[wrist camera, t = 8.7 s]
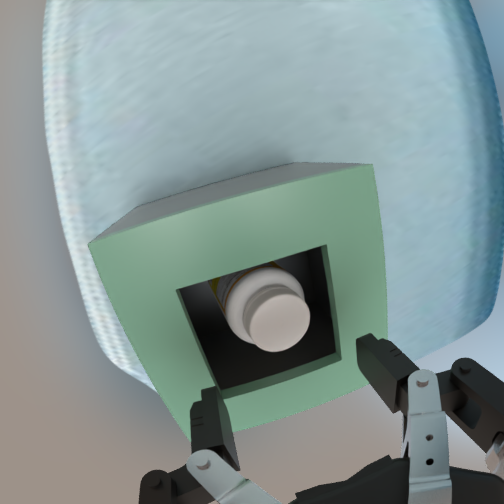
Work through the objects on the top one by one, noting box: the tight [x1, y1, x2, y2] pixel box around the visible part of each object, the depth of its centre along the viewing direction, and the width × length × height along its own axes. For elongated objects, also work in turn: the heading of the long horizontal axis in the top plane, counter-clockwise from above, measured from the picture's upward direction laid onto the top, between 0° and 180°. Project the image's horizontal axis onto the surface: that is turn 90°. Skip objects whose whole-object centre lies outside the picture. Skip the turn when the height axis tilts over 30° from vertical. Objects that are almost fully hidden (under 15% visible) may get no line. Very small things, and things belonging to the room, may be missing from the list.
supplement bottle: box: [208, 261, 310, 352], centre depth 22 cm, size 6×6×10 cm
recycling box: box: [88, 162, 388, 442], centre depth 24 cm, size 16×16×14 cm
